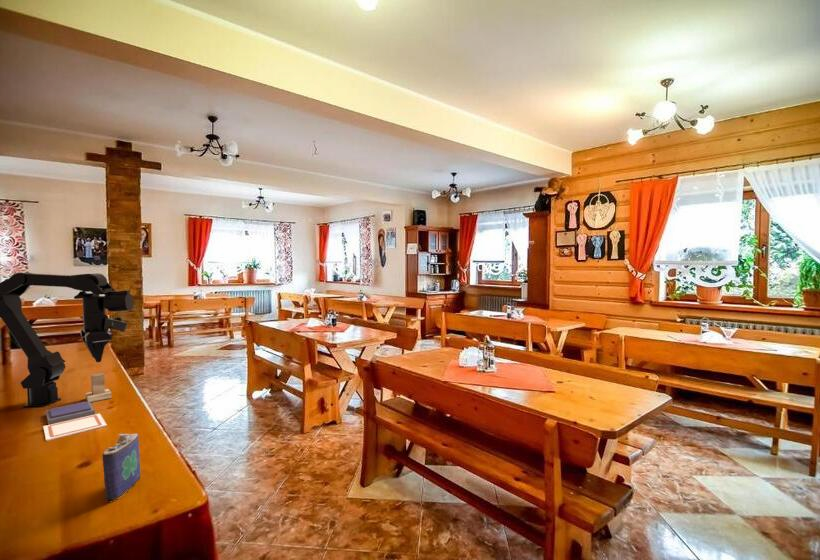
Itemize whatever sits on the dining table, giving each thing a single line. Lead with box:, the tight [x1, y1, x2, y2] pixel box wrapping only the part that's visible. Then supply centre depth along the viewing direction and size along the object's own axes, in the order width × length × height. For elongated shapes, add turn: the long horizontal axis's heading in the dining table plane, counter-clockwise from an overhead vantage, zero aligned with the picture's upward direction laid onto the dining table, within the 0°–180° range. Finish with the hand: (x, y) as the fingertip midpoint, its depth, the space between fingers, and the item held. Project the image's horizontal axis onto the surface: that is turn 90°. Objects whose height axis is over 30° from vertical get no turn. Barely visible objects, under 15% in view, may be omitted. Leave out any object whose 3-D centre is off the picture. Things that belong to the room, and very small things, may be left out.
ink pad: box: [45, 400, 96, 425], centre depth 113 cm, size 10×10×2 cm
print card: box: [42, 413, 108, 442], centre depth 104 cm, size 12×12×1 cm
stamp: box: [84, 372, 113, 404], centre depth 126 cm, size 6×6×8 cm
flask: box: [101, 433, 142, 503], centre depth 75 cm, size 9×3×11 cm, turn 8°
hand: (96, 359), depth 126 cm, fingers open, 9 cm apart
